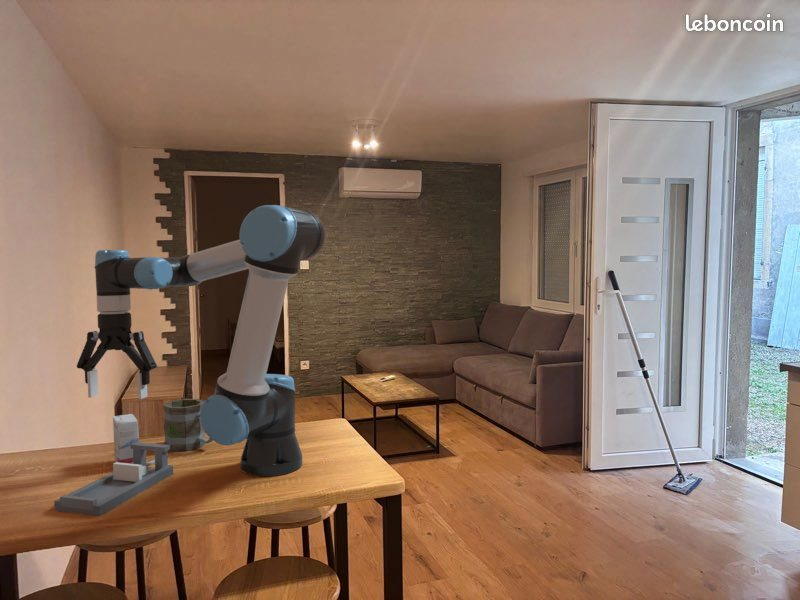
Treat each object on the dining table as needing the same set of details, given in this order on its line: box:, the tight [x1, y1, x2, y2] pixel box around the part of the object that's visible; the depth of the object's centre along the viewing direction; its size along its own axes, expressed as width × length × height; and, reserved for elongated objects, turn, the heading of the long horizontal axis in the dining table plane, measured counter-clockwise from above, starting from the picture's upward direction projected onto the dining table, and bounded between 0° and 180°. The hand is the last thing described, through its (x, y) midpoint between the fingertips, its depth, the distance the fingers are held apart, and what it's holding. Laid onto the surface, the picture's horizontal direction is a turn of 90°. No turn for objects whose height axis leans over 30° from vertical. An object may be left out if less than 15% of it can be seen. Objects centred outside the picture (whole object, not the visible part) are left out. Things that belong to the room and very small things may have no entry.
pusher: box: [112, 458, 155, 482], centre depth 139 cm, size 7×12×4 cm, turn 166°
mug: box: [162, 398, 214, 453], centre depth 161 cm, size 16×11×12 cm
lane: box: [53, 441, 174, 517], centre depth 130 cm, size 11×24×7 cm, turn 166°
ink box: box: [112, 413, 140, 464], centre depth 147 cm, size 9×5×12 cm, turn 33°
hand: (117, 397), depth 146 cm, fingers open, 13 cm apart
